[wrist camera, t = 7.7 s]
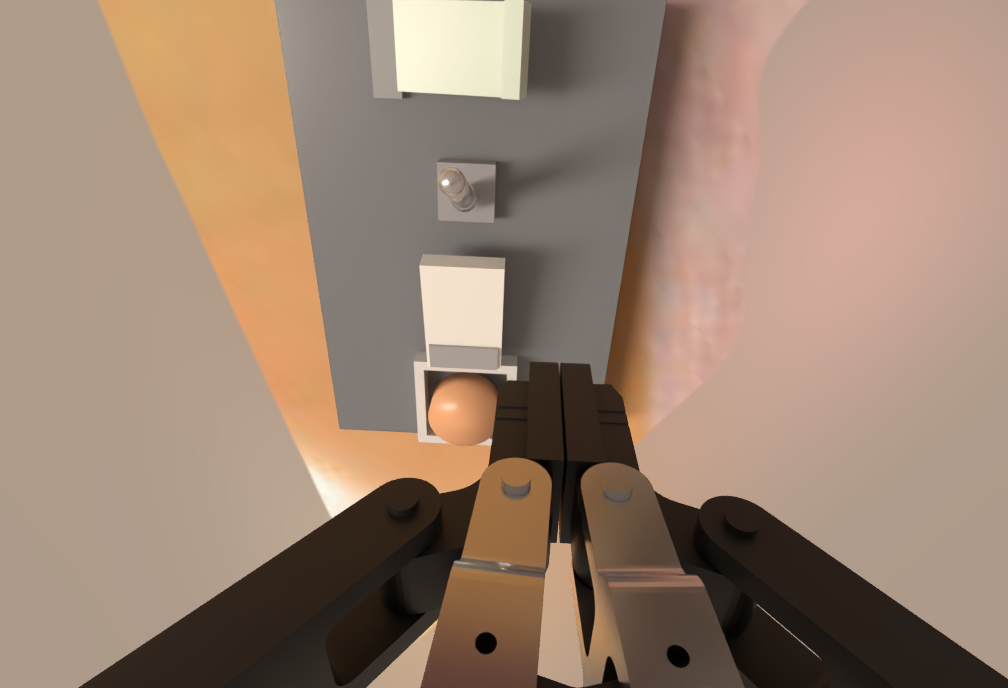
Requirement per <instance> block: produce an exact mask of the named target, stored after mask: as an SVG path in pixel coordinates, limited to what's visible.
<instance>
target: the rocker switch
mask: <svg viewBox="0 0 1008 688" xmlns="http://www.w3.org/2000/svg"><path fill="white" fill-rule="evenodd" d="M419 267H420V280H421V292H422V304H423V316H424V329H425V341H426V353H427V366H428V367H434V368H455V369H475V370H495V371H501V357H502V331H503V305H504V279H505V258H496V257H475V256H453V255H432V254H423V256H422V259H421V262H420V265H419Z"/></svg>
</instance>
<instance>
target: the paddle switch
mask: <svg viewBox="0 0 1008 688" xmlns="http://www.w3.org/2000/svg"><path fill="white" fill-rule="evenodd" d="M392 2H393V19H394V36H395V54H396V71H397V88H398V91H402V92H419V93H436V94H452V95H469V96H486V97H501V99H513V100H520V99H524V98H527V81H528V62H529V44H530V25H531V7H532V4H531V3H529V2H527V1H525V0H504V1H470V0H392Z"/></svg>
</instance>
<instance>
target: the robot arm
mask: <svg viewBox="0 0 1008 688" xmlns="http://www.w3.org/2000/svg"><path fill="white" fill-rule="evenodd" d="M558 522H559V537H560V543H571V551H572V562H571V571H570V581H571V589H572V596H573V603H574V609H575V617H576V625H577V632H578V638H579V646H580V653H581V660H582V669H583V687H581V688H1008V679H1007V678H1005V677H1004V676H1003V675H1001V674H1000V673H998V672H997V671H995V670H994V669H993V668H991V667H990V666H988V665H987V664H985V663H984V662H982V661H981V660H979V659H978V658H977V657H975V656H974V655H972V654H971V653H970V652H968V651H967V650H965V649H964V648H962V647H961V646H959V645H958V644H957V643H955V642H954V641H952V640H951V639H949V638H948V637H947V636H945V635H944V634H942V633H941V632H939V631H938V630H936V629H935V628H934V627H932V626H931V625H929V624H928V623H926V622H925V621H924V620H922V619H920V618H919V617H918V616H916V615H915V614H913V613H912V612H910V611H909V610H908V609H906V608H905V607H903V606H902V605H900V604H899V603H897V602H896V601H895V600H893V599H892V598H890V597H889V596H887V595H886V594H885V593H883V592H882V591H880V590H879V589H877V588H876V587H875V586H873V585H872V584H870V583H869V582H867V581H866V580H865V579H863V578H862V577H860V576H859V575H857V574H856V573H854V572H853V571H852V570H850V569H849V568H847V567H846V566H844V565H843V564H842V563H840V562H839V561H837V560H836V559H834V558H833V557H832V556H830V555H828V554H827V553H826V552H824V551H823V550H821V549H820V548H819V547H817V546H816V545H814V544H813V543H811V542H810V541H809V540H807V539H806V538H804V537H803V536H801V535H800V534H799V533H797V532H796V531H794V530H793V529H791V528H790V527H788V526H787V525H786V524H784V523H783V522H781V521H780V520H778V519H777V518H775V517H774V516H772V515H771V514H770V513H768V512H767V511H765V510H764V509H763V508H761V507H759V506H758V505H756V504H754V503H752V502H750V501H748V500H745V499H742V498H738V497H733V496H718V497H714V498H711V499H709V500H707V501H706V502H705V503H704V504H703V505H702V506H701V508H700V509H697V508H694V507H691V506H687V505H684V504H681V503H678V502H675V501H672V500H669V499H667V498H665V497H663V496H662V495H660V494H658V493H657V492H655V491H654V489H653V487H652V485H651V483H650V481H649V480H648V479H647V478H646V477H645V476H644V475H643V474H642V473H641V472H640V471H639V467H638V463H637V458H636V454H635V450H634V445H633V441H632V437H631V433H630V428H629V427H628V420H627V416H626V414H625V407H624V403H623V399H622V397H621V396H620V394H619V393H618V392H617V391H616V390H615V389H614V388H613V387H612V386H611V385H609V384H593V379H592V373H591V367H590V364H582V363H560V370H559V364H558V363H555V362H532V361H530V366H529V381H515V380H508V381H507V382H506V383H505V384H504V385H503V387H502V388H501V389H500V390H499V391H498V396H497V404H496V412H495V420H494V428H493V436H492V444H491V452H490V460H489V465H488V468H487V469H486V470H485V471H484V472H483V474H482V477H481V478H480V479H479V480H478V481H477V482H475V483H474V484H472V485H470V486H468V487H466V488H463V489H460V490H456V491H451V492H446V493H441V494H439V492H438V491H437V489H436V488H435V487H434V486H433V485H432V484H430V483H428V482H427V481H424V480H421V479H417V478H401V479H396V480H393V481H390V482H387V483H385V484H384V485H382V486H380V487H379V488H377V489H376V490H374V491H373V492H371V493H370V494H368V495H367V496H365V497H364V498H362V499H361V500H359V501H358V502H356V503H355V504H353V505H352V506H350V507H349V508H347V509H346V510H344V511H343V512H341V513H340V514H338V515H337V516H335V517H334V518H332V519H331V520H329V521H328V522H326V523H325V524H323V525H322V526H320V527H319V528H317V529H316V530H314V531H313V532H311V533H310V534H308V535H307V536H305V537H304V538H302V539H301V540H300V541H298V542H296V543H295V544H293V545H292V546H290V547H289V548H287V549H286V550H284V551H283V552H281V553H280V554H278V555H277V556H275V557H274V558H272V559H271V560H269V561H268V562H266V563H265V564H263V565H262V566H260V567H259V568H257V569H256V570H254V571H253V572H251V573H250V574H248V575H247V576H245V577H244V578H242V579H241V580H239V581H238V582H236V583H235V584H233V585H232V586H230V587H229V588H227V589H226V590H224V591H223V592H221V593H220V594H218V595H217V596H215V597H214V598H212V599H211V600H209V601H208V602H206V603H205V604H203V605H202V606H200V607H199V608H197V609H196V610H194V611H193V612H191V613H190V614H188V615H187V616H185V617H184V618H182V619H181V620H179V621H178V622H176V623H175V624H173V625H172V626H170V627H169V628H167V629H166V630H164V631H163V632H161V633H160V634H158V635H157V636H155V637H154V638H152V639H151V640H149V641H148V642H146V643H145V644H143V645H142V646H140V647H139V648H137V649H136V650H134V651H133V652H131V653H130V654H128V655H127V656H125V657H124V658H122V659H121V660H119V661H118V662H116V663H115V664H113V665H112V666H110V667H109V668H107V669H106V670H104V671H103V672H101V673H100V674H98V675H97V676H95V677H94V678H92V679H91V680H89V681H88V682H86V683H85V684H83V685H82V686H80V687H79V688H366V687H367V686H368V685H369V684H370V683H371V682H372V681H373V680H375V678H377V677H378V675H380V674H381V673H382V672H383V671H384V670H385V669H386V668H387V667H388V666H389V665H390V664H391V663H392V662H393V661H394V660H395V659H396V658H397V657H399V655H400V654H402V653H403V652H404V651H405V650H406V649H407V648H408V647H409V646H410V645H411V644H412V643H413V642H414V641H415V640H416V639H417V638H418V637H419V636H420V635H421V634H423V633H424V632H425V631H426V630H427V629H428V628H429V627H430V626H431V625H432V624H433V623H434V622H435V621H436V620H437V619H438V622H437V626H436V630H435V634H434V637H433V642H432V645H431V649H430V653H429V657H428V661H427V665H426V668H425V672H424V676H423V680H422V684H421V688H575V687H571V686H567V685H565V684H562V683H559V682H556V681H553V680H550V679H547V678H545V677H542V676H539V675H537V673H538V672H537V671H538V660H539V647H540V632H541V620H542V607H543V594H544V581H545V572H546V570H547V568H548V565H549V555H550V543H556V542H557V532H558ZM757 604H758V605H759V606H760V607H762V608H763V609H764V610H765V611H766V612H767V613H769V614H770V615H771V616H772V617H773V618H775V619H776V620H777V621H778V622H779V623H780V624H782V625H783V626H784V627H785V628H786V629H787V630H789V631H790V632H791V633H792V634H793V635H795V636H796V637H797V638H798V639H799V640H800V641H802V642H803V643H804V644H805V645H807V646H808V647H809V648H810V649H811V650H813V652H815V653H816V654H817V655H818V656H819V657H820V658H821V659H820V658H818V657H817V656H816V655H815V654H813V652H811V651H810V650H809V649H808V648H807V647H805V646H804V645H803V644H802V643H801V642H799V641H798V640H797V639H796V638H795V637H794V636H793V635H791V634H790V633H789V632H788V631H786V630H785V629H784V628H783V627H782V626H781V625H780V624H778V623H777V622H776V621H775V620H774V619H772V618H771V617H770V616H769V615H768V614H767V613H765V612H764V611H763V610H762V609H761V608H760V607H758V606H757Z"/></svg>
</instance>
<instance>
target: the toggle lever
mask: <svg viewBox="0 0 1008 688" xmlns="http://www.w3.org/2000/svg"><path fill="white" fill-rule="evenodd" d="M438 186H439V188H440V190H441V191H442V192H443V193H444V194H445V195H446V196H447V197H448V198H449V199H450V200H451V203H452V205H453V207H454V208H455V209H456V210H458V211H460V212H469V211H471V210H473V209H474V208H475V207H476V205H477V203H478V194H477V191H476V190H475V188H474V187H472V186H471V185H469V183H468V182H467V180H466V178H465V176H464V175H463V173H462V172H461V171H460V170H459V169H457V168H454V167H448V168H445V169H443V170H442V171H441V172H440V174H439V176H438Z"/></svg>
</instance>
